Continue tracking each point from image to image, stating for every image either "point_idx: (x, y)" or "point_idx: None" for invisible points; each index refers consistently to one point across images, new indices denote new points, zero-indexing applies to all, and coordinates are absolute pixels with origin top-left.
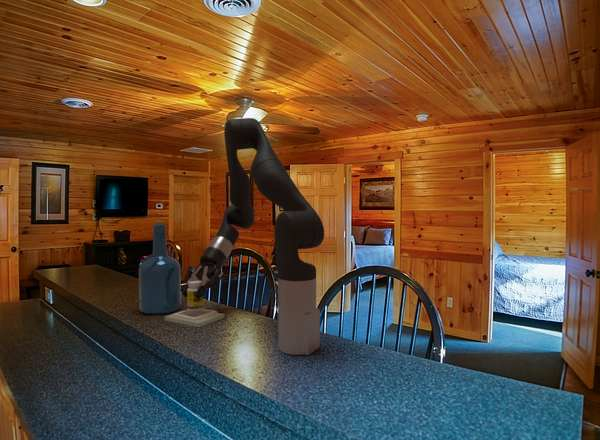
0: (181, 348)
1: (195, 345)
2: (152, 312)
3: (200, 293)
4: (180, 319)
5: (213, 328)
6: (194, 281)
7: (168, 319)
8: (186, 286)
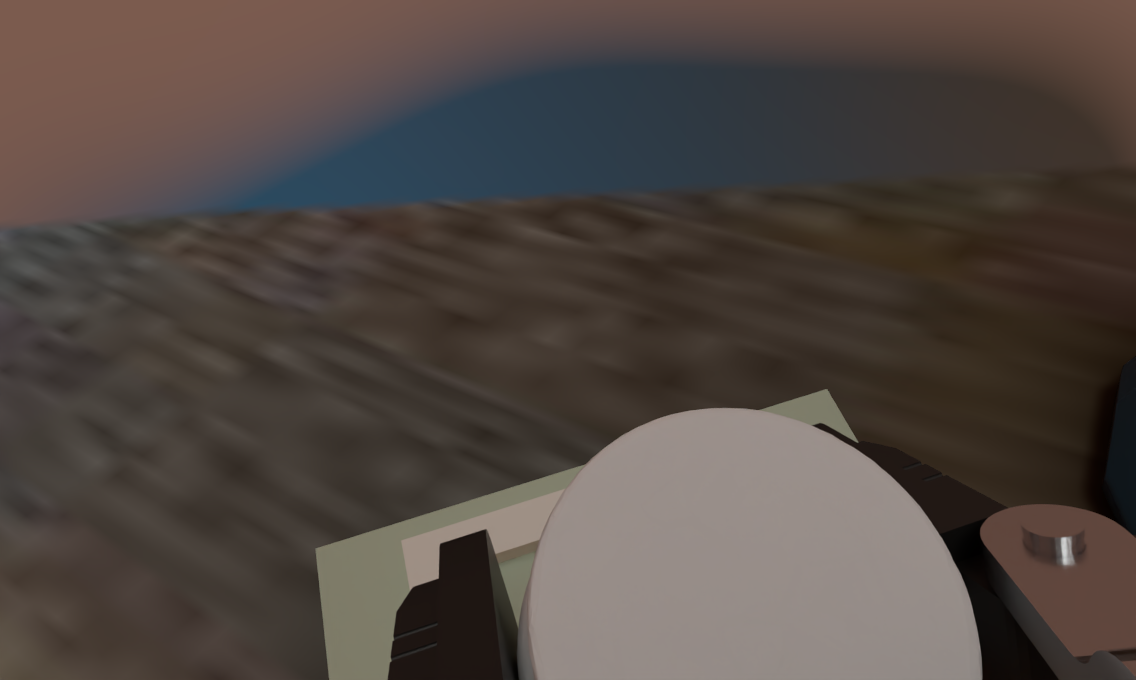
0: (58, 249)
1: (2, 330)
2: (1124, 371)
3: (396, 628)
4: None
5: (166, 671)
6: (836, 633)
7: None
8: (915, 489)
